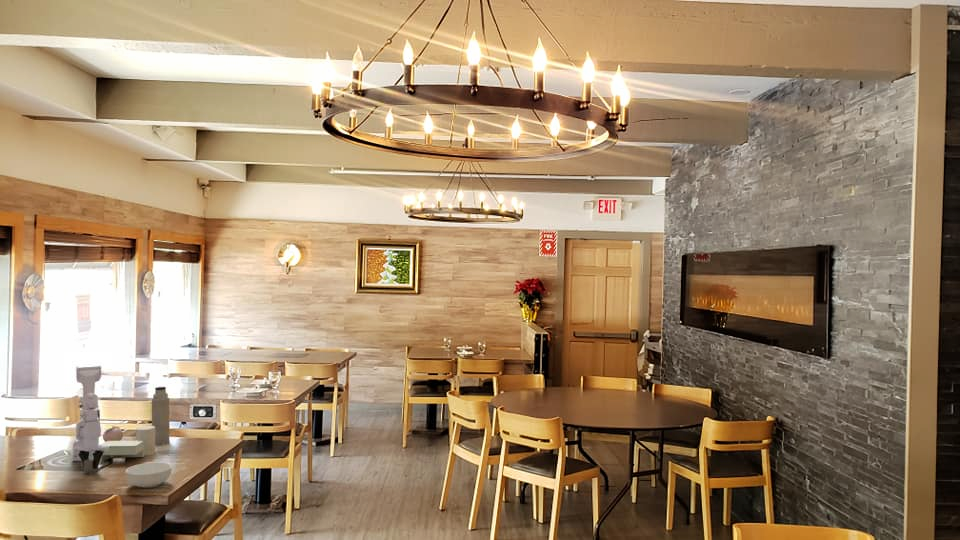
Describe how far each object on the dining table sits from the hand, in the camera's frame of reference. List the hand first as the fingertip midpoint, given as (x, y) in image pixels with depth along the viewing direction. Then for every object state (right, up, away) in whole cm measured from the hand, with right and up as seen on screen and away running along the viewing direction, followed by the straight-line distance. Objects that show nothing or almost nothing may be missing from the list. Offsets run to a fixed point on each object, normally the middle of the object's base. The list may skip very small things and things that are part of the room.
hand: (91, 468), depth 303 cm
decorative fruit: (-13, -2, +44) cm, 46 cm away
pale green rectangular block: (+3, -2, +19) cm, 20 cm away
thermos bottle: (+8, -2, +49) cm, 50 cm away
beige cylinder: (+9, -2, +31) cm, 32 cm away
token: (+4, -2, +15) cm, 16 cm away
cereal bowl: (+33, -2, -17) cm, 37 cm away
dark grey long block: (0, -2, +5) cm, 6 cm away
